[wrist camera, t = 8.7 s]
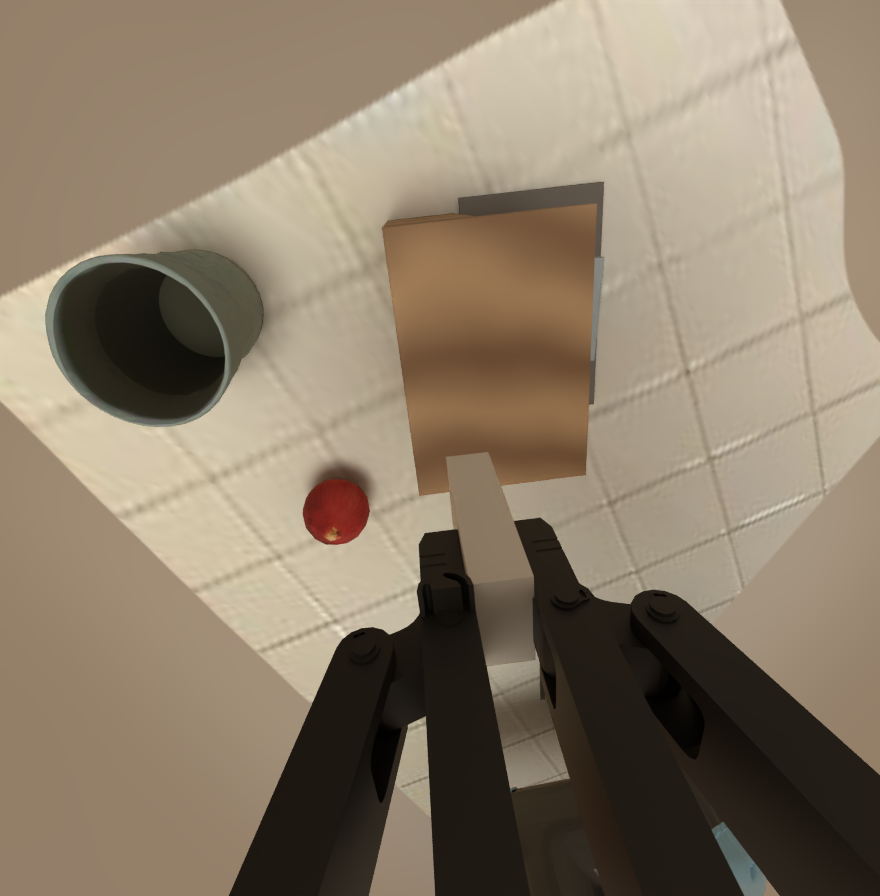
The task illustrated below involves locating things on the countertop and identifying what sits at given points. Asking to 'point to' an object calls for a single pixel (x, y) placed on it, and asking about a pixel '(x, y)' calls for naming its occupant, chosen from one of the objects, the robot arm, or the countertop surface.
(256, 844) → the robot arm
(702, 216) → the countertop surface
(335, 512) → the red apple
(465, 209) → the mat
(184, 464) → the countertop surface
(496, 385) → the brown flat-topped block
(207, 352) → the grey-green tapered bin
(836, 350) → the countertop surface
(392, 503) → the countertop surface
